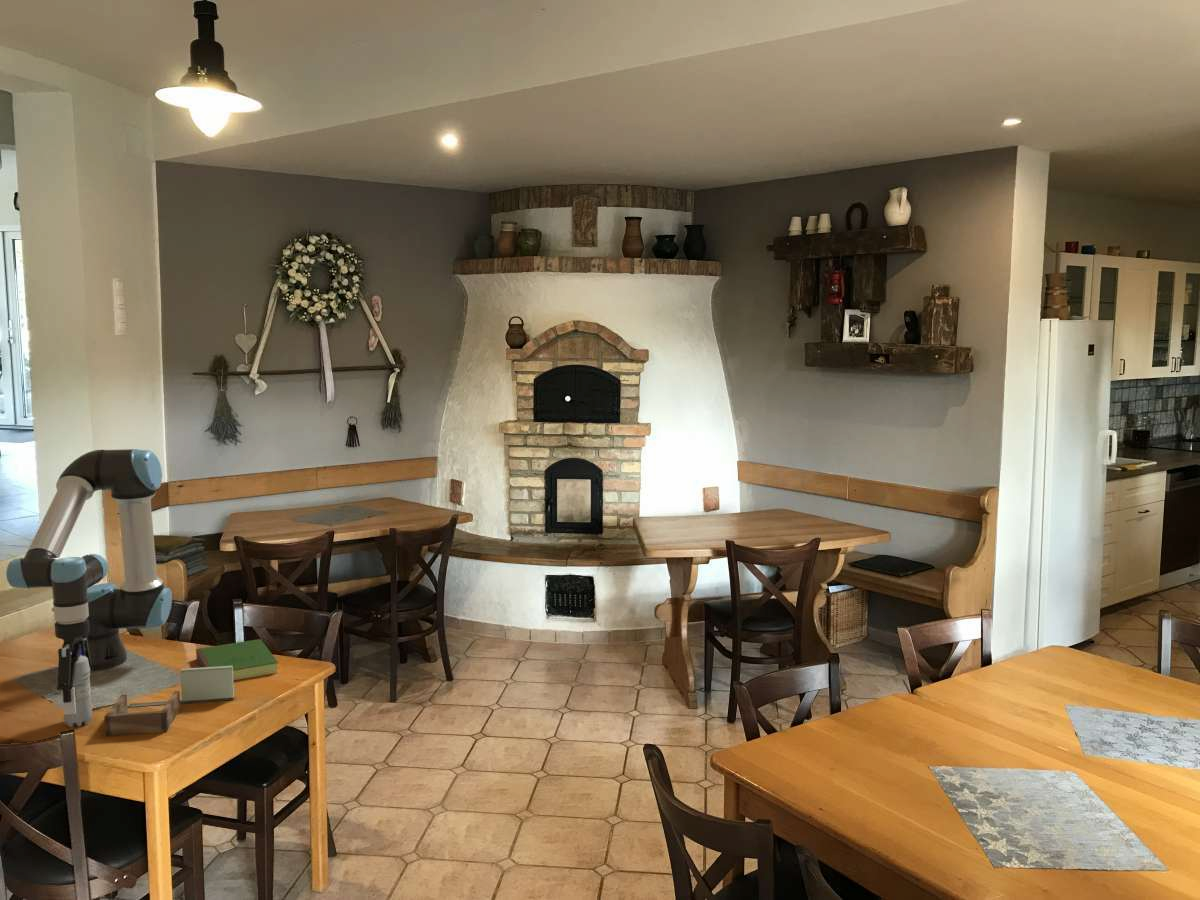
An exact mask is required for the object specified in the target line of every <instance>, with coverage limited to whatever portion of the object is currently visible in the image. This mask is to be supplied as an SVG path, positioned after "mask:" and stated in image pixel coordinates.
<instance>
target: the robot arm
mask: <svg viewBox="0 0 1200 900" xmlns="http://www.w3.org/2000/svg"><path fill="white" fill-rule="evenodd" d="M162 478H163V470H162V466H161V462H160V460H159V458H158V457H157V455H156V453H154V452H153V451H151V450H149V449H138V448H133V449H131V448H130V449H127V448H125V449H94V450H91V451H88V452H86V453H84V454H82V455H80V456H79V457H77V458H76V459H74V460H73V461H72V462H71V463H70V464H69V465H68V466H66V468H65V469H64V470H63V472H61V474H60V475H59V478H58V479H57V481H56V484H55V487H56V492H55V494H54V497H53V498H52V500H51V503H50V505H49V507H48V509H47V510H46V513H45V515H44V517H43V519H42V521H41V523H40V526H39V527H38V529H37V531H36V533H35V535H34V537H33V539H32V541H31V543H30V545H29V548H28V550H27V551H26V553H25V555H24V557H23V558H22V557H18V558H14V559H13V558H12V560H11V561H10V562H9V563H8V565H7V566H6V571H5V574H6V575H5V577H6V580H7V582H8V584H9V586H10V587H12V588H17V589H18V588H19V589H33V588H36V589H38V588H41V589H42V588H51V589H52V599H53V600H52V603H53V604H52V605H53V607H52V608H51V612H53V617H54V621H55V623H54V636H55V637H56V638H57V639H58V640H59V639H61V640H62V641H63V644H62V646H61V648H58V651H57V653H58V667H57V686H56V690H57V691H61V703H62V704H61V705H62V716H63V715H65V714H75V713H76V703H75V688H74V687H73V680H74V672H75V664H76V662H77V661H78V658H79V651H80V650H81V656H85V657H87V658H88V662H89V667H90V672H91V671H101V670H106V669H109V668H113V667H117V666H119V665H122V664H123V663H125V662H126V661H127V658H128V656H127V649H126V648H125V645H124V643H123V640H122V638H121V637H120V633H119V632H120V631H119V629H150V628H159V627H162V626H163V625H164V624H165V623H166V622H167V620H168V619H169V616H170V613H171V609H172V603H173V593H172V590H171V588H169V587H166V586H165V587H164V580H163V579H162V578H161V577H159V576H158V572H157V570H158V569H157V558H156V547H155V535H154V524H153V514H152V513H153V512H152V499H153V498H154V497H155V495H156V494H157V493H156V490H158V489H160V488H161V485H162V484H163V483H162ZM97 491H110V493H111V499H113V501H114V502H117V505H118V507H117V509H118V517H119V527H120V537H121V538H120V539H121V548H122V560H123V569H124V570H123V571H124V572H123V573H124V581H123V582H122V583H121V584H120V586H119V588H118V587H117V585H116V583H113V582H107V583H99V582H101V581H102V580H103V579H104V578H105V577H106V576H107V574H108V572H109V571H108V570H109V565H108V563H107V561H106V559H105V558H104V557H103V556H101V555H100V554H97V553H90V554H85V555H83V556H82V557H81V556H66V557H61V554H62V553H63V550H64V548H65V546H66V543H67V542H68V540H69V537H70V536H71V533H72V531H73V529H74V527H75V525H76V522H77V520H78V518H79V516H80V514H81V512H82V509H83V508H84V506H85V504H86V502H87V500H90V499H91V498H92V497H93V495H94V494H95V492H97ZM98 583H99V584H98ZM90 676H91V675H90ZM90 676H89V686H90V687H91V681H90V679H91V677H90ZM64 684H65V685H64ZM91 695H92V694H91V691H90V697H91Z"/></svg>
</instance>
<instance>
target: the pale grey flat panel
mask: <svg viewBox="0 0 1200 900" xmlns="http://www.w3.org/2000/svg"><path fill="white" fill-rule="evenodd" d="M179 673H180V674H179V675H180V691H181V692H180V693H181V700H182V701H193V700H208V699H222V698H233V697H235V691H234V688H235V687H234V680H233V666H219V667H202V668H201V667H190V668H189V667H188V668H181V669H179Z"/></svg>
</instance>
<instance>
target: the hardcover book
mask: <svg viewBox="0 0 1200 900" xmlns="http://www.w3.org/2000/svg"><path fill="white" fill-rule="evenodd" d="M195 655H196V661H197V663H198V665H199V668H202V667H219V666H233V681H238V680H239V681H240V680H245V679H250V678H255V677H261V676H267V675H272V674H277V673H278V664H279V662H278V660H277V659H276V657H275V656H274V655H273V653H272V652H271V651H270V650H269V647H267V645H266V644H265V643H264V641H263V640H262V639H261V638H259V639H258V638H257V639H253V640H252V639H251V640H245V641H239V642H238V641H237V642H234V643H233V642H232V643H227V644H221V645H220V644H219V645H214V646H212V645H211V646H208V647H200V648H195Z"/></svg>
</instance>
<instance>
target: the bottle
mask: <svg viewBox="0 0 1200 900" xmlns="http://www.w3.org/2000/svg"><path fill="white" fill-rule="evenodd" d="M89 676H91V671H90V667H89V662H88V658H87V657H85V656H81V650H80V651H79V658H78V661H77V662H76V664H75V672H74V680H73V687H74V688H75V703H76V713H75V714H65V715H63V714H62V716H63V721H64V724H65V725H66V726H69V727H70V728H73V727H74V726H75V725H77V727H81V726H82V723H83V725H87V724H89V722H91V720H92V717H93V709H92V701H91V700H92V699H91V696H90V692H91V685H90V686H89ZM64 685H65V684H64Z"/></svg>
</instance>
